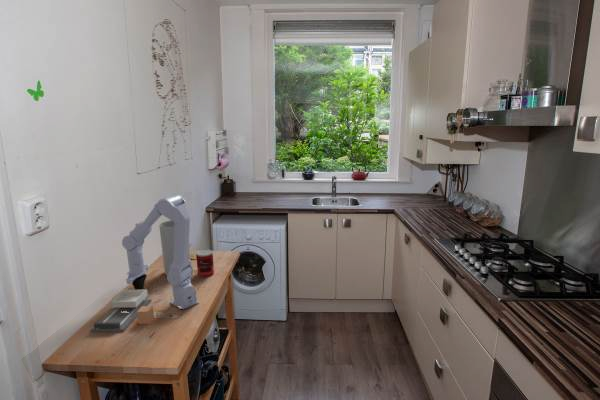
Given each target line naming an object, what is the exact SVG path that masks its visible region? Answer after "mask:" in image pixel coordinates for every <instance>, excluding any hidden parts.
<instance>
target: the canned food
mask: <svg viewBox="0 0 600 400" xmlns="http://www.w3.org/2000/svg"><path fill="white" fill-rule="evenodd" d="M195 253H196V254H195V257H196V259H195V260H196V268H197V275H198V276H199V277H203V278H207V277H210V276H213V275H214V273H215V265H214V253H213V250H211V249H201V250H198V251H196V252H195Z"/></svg>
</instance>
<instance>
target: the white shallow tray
mask: <svg viewBox="0 0 600 400" xmlns="http://www.w3.org/2000/svg"><path fill="white" fill-rule="evenodd" d="M148 293H149V292H148V289H143V290H135V289H123V290H121V291H120V292H119V293H118V294H116V295H115V296H114V297H113V298H112V299H111V300H110V301H109V303H110V308H112V309H113V308H116V309H118V308H119V307H133V309H135V308H136V307H137V306H138V305H139V304H140V303H141V302H142V301H143V300H144V299H147V298H146V297H148V296H149V294H148Z"/></svg>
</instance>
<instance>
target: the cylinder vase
mask: <svg viewBox="0 0 600 400" xmlns="http://www.w3.org/2000/svg"><path fill="white" fill-rule="evenodd" d="M174 232H175V223H174V222H173V221H171V220H167V221H163V222H161V223H159V233H160V234H159V235H160V242H161V243H160V245H161V251H162V259H163V268H164V274H165V276H167V275H168V273H169V270H170V266H171V264H172V262H173V259H174ZM190 247H191V246H190ZM190 247H188V259H189V260H190V261H191V262H192V259H191V258H190V255H191V250H190Z"/></svg>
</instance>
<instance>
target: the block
mask: <svg viewBox="0 0 600 400" xmlns="http://www.w3.org/2000/svg"><path fill="white" fill-rule="evenodd" d="M137 315H138V316H137V323H138V325H150V324H151V323H152V322H153V320H154V319H155V315H154V307H153V305H152V306H151V305H150V306H149V305H147V306H142V307H141V308H140V309H139V310H138V311H137Z"/></svg>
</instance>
